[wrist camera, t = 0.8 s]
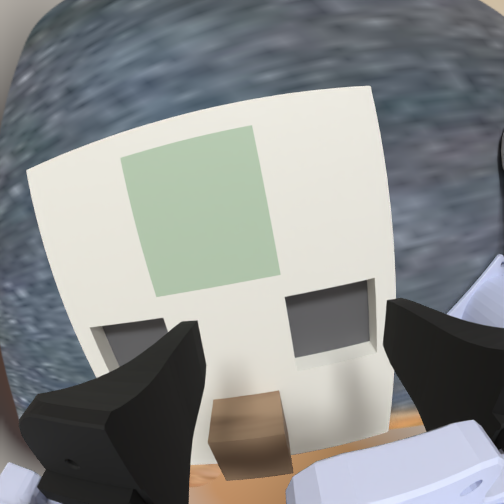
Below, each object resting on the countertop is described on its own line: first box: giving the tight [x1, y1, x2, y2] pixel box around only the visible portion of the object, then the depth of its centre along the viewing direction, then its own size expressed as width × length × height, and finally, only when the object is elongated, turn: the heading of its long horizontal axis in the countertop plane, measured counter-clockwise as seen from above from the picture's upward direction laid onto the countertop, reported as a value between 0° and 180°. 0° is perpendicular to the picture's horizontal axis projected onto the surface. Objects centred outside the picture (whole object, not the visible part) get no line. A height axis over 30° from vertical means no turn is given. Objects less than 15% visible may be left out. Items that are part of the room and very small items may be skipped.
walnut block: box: [208, 390, 293, 481], centre depth 21 cm, size 5×5×4 cm
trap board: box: [26, 86, 396, 465], centre depth 22 cm, size 28×23×2 cm
